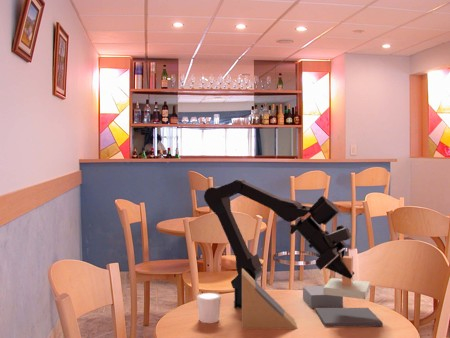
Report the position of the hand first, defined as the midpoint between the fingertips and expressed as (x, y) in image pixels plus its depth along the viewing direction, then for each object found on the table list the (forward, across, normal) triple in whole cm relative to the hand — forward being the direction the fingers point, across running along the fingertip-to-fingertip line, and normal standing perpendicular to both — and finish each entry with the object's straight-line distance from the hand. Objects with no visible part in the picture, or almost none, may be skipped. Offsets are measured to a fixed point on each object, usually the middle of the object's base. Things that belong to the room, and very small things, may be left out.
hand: (352, 276), depth 140 cm
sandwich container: (-6, -13, +24) cm, 28 cm away
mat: (+8, 0, +10) cm, 13 cm away
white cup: (-18, -16, +36) cm, 43 cm away
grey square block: (+1, +12, +17) cm, 21 cm away
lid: (+2, 0, +4) cm, 5 cm away
